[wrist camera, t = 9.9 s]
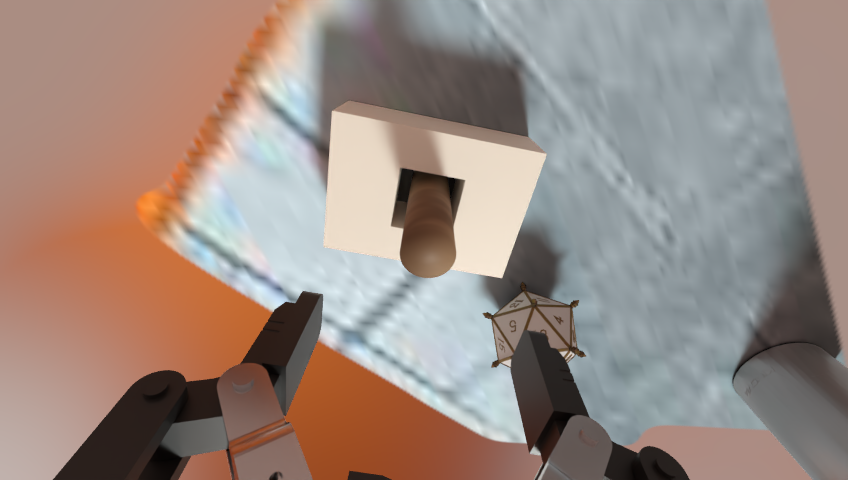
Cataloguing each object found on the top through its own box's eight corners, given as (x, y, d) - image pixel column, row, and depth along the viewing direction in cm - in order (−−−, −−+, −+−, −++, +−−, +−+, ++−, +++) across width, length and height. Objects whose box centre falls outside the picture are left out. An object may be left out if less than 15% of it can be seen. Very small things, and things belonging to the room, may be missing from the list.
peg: (451, 166, 29) (462, 234, 18) (443, 200, 30) (449, 281, 19) (415, 159, 28) (404, 224, 18) (408, 193, 30) (395, 272, 19)
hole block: (528, 137, 27) (546, 154, 23) (492, 246, 32) (502, 278, 28) (349, 100, 26) (331, 110, 22) (339, 219, 31) (323, 247, 27)
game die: (526, 270, 38) (612, 284, 29) (537, 345, 39) (623, 381, 30) (455, 293, 34) (529, 317, 25) (469, 375, 35) (544, 427, 26)
